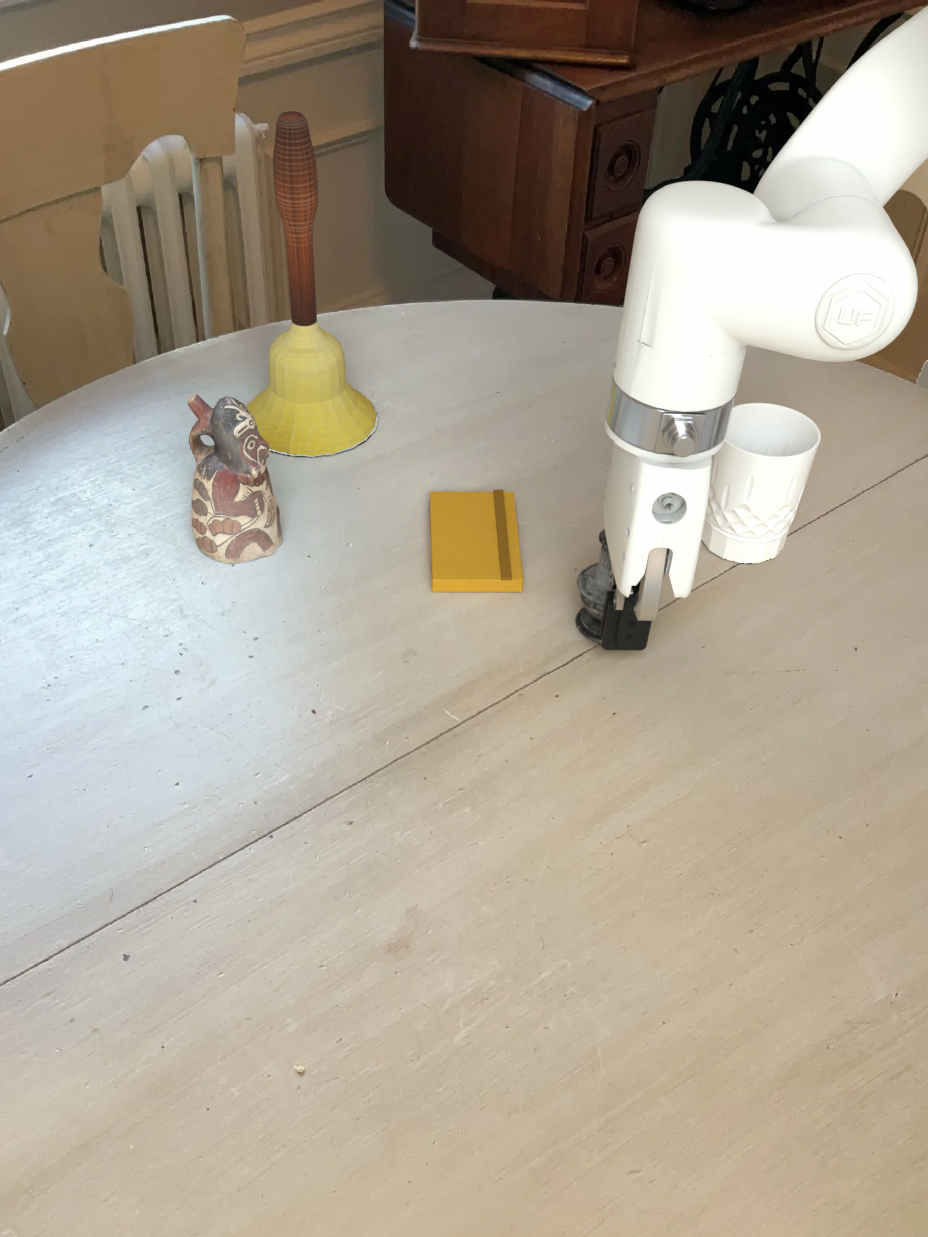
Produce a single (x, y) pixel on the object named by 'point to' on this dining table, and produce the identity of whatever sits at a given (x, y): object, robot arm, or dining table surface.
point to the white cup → (758, 481)
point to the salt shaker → (594, 593)
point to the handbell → (305, 325)
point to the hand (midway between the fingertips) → (622, 642)
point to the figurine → (231, 485)
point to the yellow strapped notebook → (474, 542)
